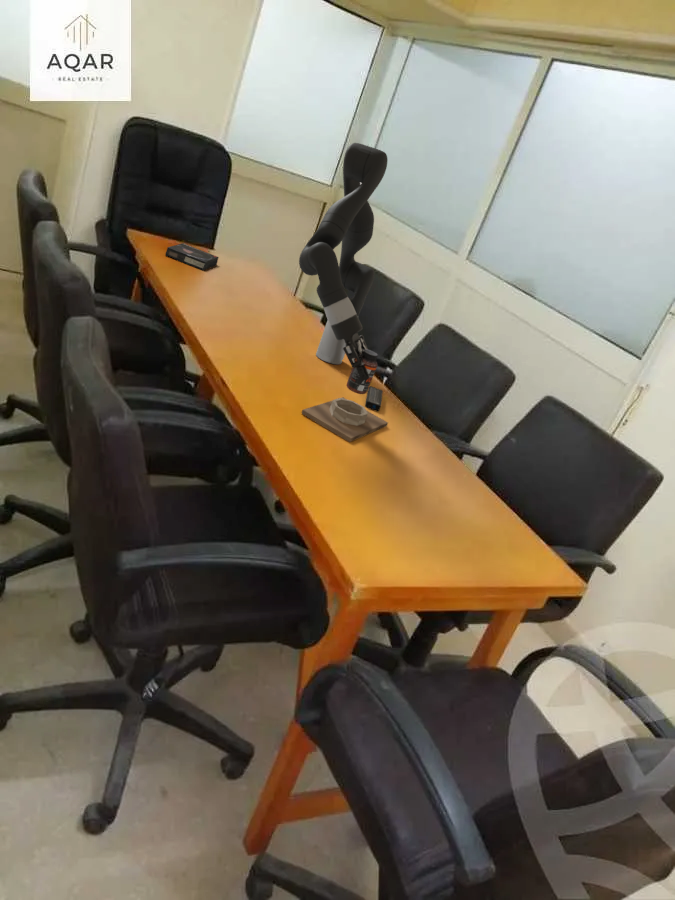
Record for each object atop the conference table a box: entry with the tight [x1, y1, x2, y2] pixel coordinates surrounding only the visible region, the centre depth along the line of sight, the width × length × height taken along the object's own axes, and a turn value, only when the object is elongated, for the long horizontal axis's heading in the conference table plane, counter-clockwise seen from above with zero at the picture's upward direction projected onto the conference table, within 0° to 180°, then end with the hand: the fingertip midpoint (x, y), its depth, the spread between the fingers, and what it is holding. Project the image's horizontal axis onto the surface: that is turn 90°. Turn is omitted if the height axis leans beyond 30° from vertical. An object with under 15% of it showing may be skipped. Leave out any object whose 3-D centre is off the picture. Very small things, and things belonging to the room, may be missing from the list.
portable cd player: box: [164, 242, 219, 271], centre depth 284 cm, size 16×17×4 cm
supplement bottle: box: [345, 349, 379, 395], centre depth 183 cm, size 6×6×11 cm
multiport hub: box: [364, 385, 384, 412], centre depth 210 cm, size 4×14×2 cm, turn 175°
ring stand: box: [301, 396, 389, 443], centre depth 189 cm, size 22×16×4 cm
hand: (368, 376), depth 183 cm, fingers closed on supplement bottle, 6 cm apart
